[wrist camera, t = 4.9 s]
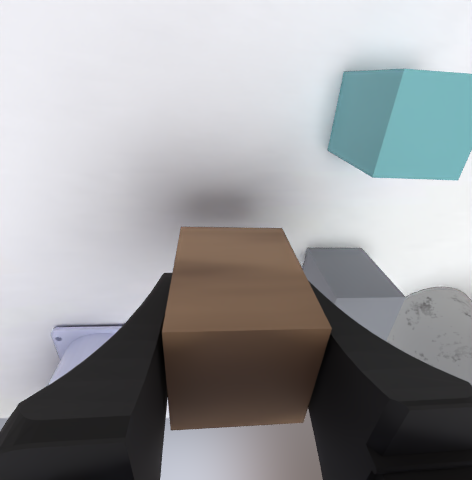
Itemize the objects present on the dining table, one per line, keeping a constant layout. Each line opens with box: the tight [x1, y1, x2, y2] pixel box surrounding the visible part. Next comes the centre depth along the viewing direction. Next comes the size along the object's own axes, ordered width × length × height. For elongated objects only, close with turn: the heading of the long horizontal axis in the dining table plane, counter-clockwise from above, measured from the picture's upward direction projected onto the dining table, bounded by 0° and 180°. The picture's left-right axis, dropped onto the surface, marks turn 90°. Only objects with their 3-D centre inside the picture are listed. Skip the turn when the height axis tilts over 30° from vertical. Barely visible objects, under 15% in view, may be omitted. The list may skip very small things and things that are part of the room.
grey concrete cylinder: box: [386, 287, 472, 385], centre depth 23 cm, size 10×10×12 cm
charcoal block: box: [303, 248, 406, 341], centre depth 21 cm, size 4×4×6 cm
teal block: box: [328, 69, 472, 180], centre depth 16 cm, size 4×4×6 cm
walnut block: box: [162, 227, 332, 430], centre depth 11 cm, size 4×4×6 cm
